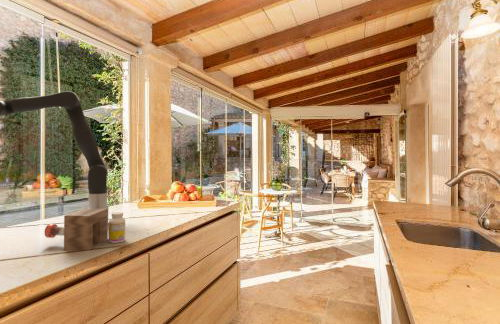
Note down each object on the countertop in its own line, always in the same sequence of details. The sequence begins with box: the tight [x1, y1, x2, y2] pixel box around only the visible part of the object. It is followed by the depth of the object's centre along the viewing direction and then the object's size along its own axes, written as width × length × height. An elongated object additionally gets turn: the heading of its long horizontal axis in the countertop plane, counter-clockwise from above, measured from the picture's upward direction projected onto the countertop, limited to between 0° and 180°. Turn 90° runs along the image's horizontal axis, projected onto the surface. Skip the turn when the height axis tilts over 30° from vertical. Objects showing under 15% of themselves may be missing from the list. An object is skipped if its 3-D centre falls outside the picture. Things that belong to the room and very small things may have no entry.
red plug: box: [44, 223, 64, 239], centre depth 120 cm, size 14×6×6 cm, turn 92°
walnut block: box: [63, 207, 109, 251], centre depth 122 cm, size 12×16×14 cm
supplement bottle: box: [108, 211, 126, 244], centre depth 127 cm, size 7×7×13 cm
